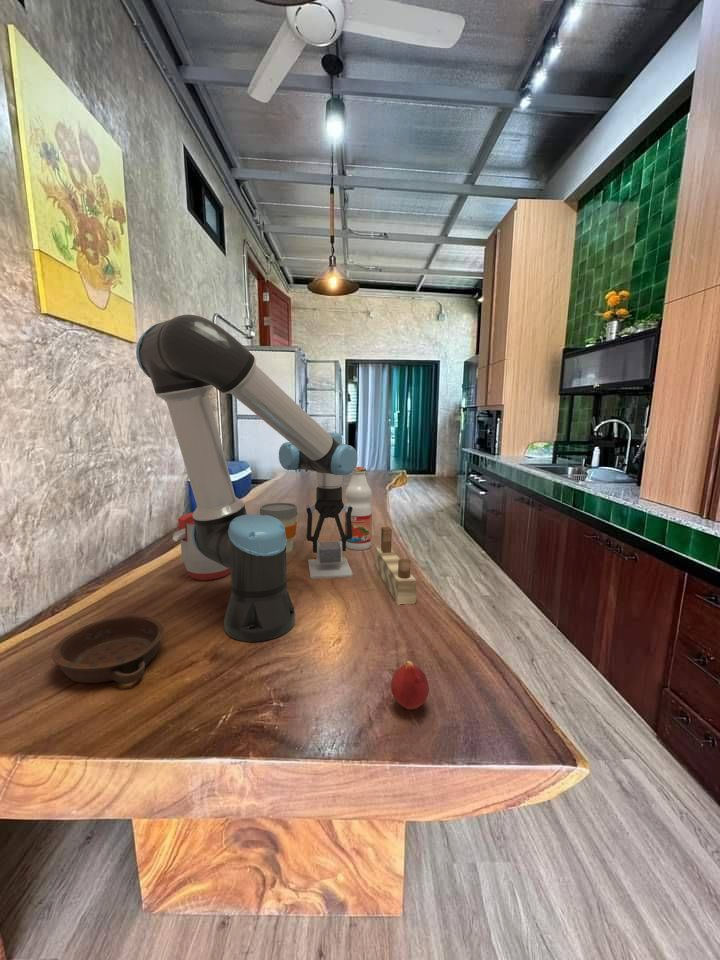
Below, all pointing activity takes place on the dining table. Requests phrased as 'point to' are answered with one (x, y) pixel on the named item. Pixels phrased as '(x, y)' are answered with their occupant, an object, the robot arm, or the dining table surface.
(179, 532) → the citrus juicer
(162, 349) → the robot arm
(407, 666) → the onion
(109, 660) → the dish
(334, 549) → the lever cap
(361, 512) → the fruit juice
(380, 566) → the wooden peg base
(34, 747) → the dining table surface
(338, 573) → the mat
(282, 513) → the reusable coffee cup
